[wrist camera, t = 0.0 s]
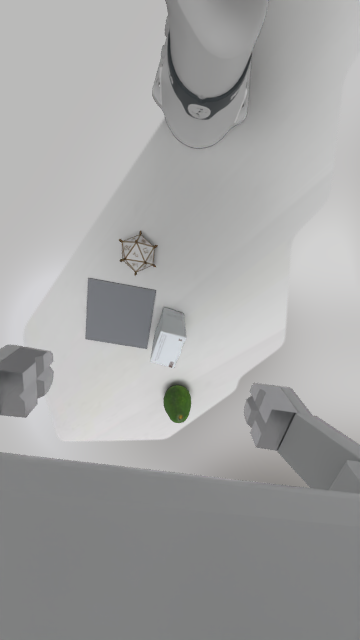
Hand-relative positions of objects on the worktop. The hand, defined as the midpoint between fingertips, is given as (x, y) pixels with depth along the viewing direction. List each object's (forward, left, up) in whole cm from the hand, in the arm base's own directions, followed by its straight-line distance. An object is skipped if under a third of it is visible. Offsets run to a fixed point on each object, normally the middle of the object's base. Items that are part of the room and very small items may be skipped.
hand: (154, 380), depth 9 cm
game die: (-1, -8, -48) cm, 49 cm away
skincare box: (+16, +2, -48) cm, 51 cm away
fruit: (+37, +8, -48) cm, 61 cm away
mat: (+16, -11, -48) cm, 52 cm away
